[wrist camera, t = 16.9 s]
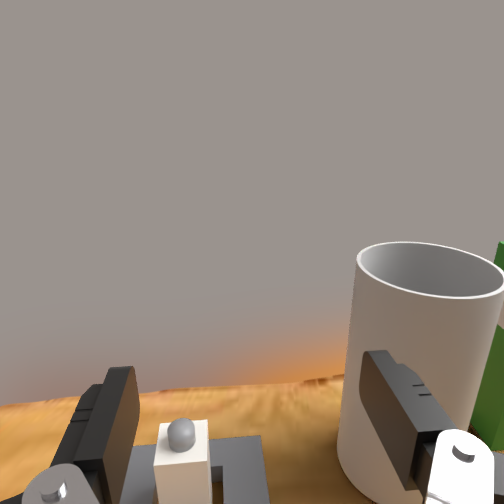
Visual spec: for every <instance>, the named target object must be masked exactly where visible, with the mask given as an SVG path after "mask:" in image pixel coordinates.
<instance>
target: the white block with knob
mask: <svg viewBox="0 0 504 504" xmlns="http://www.w3.org/2000/svg"><path fill="white" fill-rule="evenodd" d="M153 466H154V473H155V480H156V487H157V494H158V501H159V504H212V481H211V466H210V451H209V436H208V421H207V420H197V421H191V420H190V419H187V418H180V419H177V420H175V421H173V422H172V423H161V424H160V428H159V434H158V440H157V446H156V453H155V459H154V465H153Z"/></svg>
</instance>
